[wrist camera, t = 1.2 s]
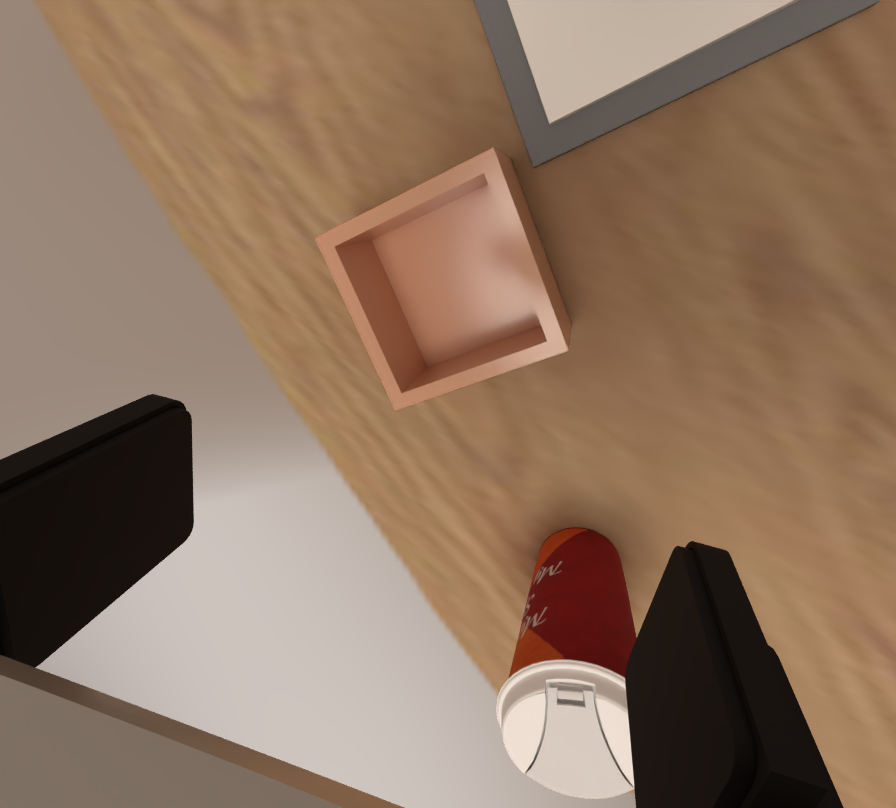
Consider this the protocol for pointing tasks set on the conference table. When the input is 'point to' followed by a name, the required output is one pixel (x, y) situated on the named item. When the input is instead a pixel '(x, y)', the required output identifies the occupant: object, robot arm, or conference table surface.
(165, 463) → the robot arm
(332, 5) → the conference table surface
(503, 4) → the mat
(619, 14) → the cover
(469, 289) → the open box
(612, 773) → the paper cup
